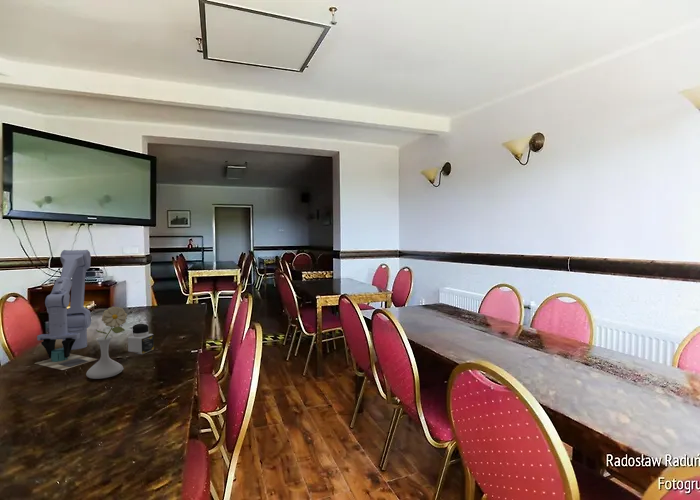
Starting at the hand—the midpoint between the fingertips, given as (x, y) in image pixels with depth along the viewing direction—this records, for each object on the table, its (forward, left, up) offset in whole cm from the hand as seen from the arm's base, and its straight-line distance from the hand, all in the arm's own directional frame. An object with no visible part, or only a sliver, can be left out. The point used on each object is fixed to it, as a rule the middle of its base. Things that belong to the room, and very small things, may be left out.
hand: (59, 357), depth 151 cm
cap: (0, 0, -1) cm, 1 cm away
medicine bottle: (+18, +22, -2) cm, 29 cm away
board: (+5, 0, -2) cm, 5 cm away
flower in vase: (+32, -2, -2) cm, 32 cm away
